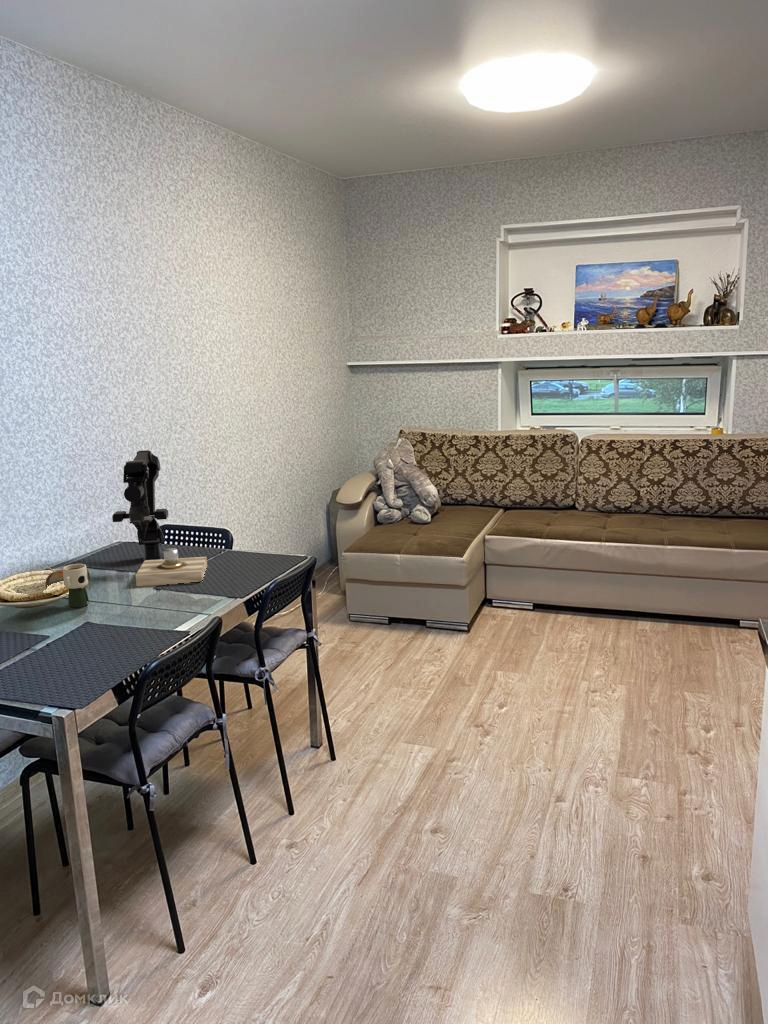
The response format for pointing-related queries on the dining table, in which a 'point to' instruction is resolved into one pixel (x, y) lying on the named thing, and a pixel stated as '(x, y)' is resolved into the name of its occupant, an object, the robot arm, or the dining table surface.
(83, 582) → the character mug
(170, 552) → the silver and gold knob
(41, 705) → the dining table surface
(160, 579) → the jig
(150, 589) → the dining table surface
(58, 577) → the tin
